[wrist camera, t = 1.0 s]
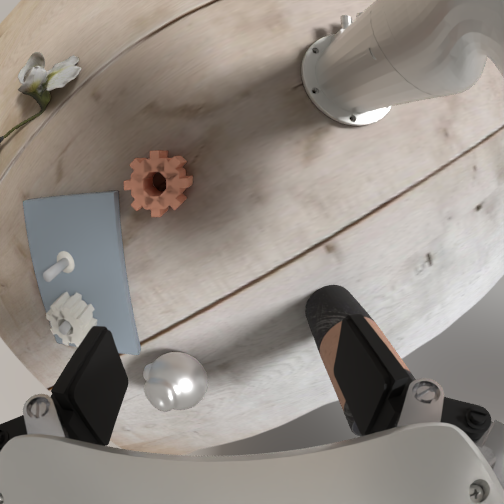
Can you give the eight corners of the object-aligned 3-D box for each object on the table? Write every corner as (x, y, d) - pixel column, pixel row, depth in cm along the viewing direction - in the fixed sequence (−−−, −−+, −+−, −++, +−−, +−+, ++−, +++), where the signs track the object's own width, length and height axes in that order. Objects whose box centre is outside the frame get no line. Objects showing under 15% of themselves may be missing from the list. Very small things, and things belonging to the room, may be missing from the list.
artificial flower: (-10, 140, 26) (-47, 125, 16) (90, 61, 27) (62, 24, 17) (-8, 184, 27) (-50, 174, 17) (99, 102, 28) (64, 65, 18)
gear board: (28, 199, 30) (1, 209, 23) (118, 190, 31) (94, 199, 25) (60, 338, 38) (44, 360, 31) (141, 349, 39) (130, 377, 33)
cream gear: (51, 298, 33) (38, 311, 29) (80, 285, 33) (67, 298, 29) (75, 336, 36) (65, 351, 32) (105, 326, 35) (95, 342, 31)
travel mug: (310, 335, 40) (353, 446, 21) (296, 295, 37) (345, 411, 18) (357, 316, 39) (421, 413, 20) (347, 274, 37) (427, 371, 18)
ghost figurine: (165, 328, 38) (149, 375, 28) (220, 357, 40) (218, 406, 31) (142, 363, 40) (126, 408, 30) (192, 388, 42) (186, 434, 33)
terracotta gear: (135, 152, 29) (123, 153, 26) (193, 149, 30) (187, 149, 26) (137, 210, 32) (125, 217, 28) (193, 209, 32) (187, 216, 28)
